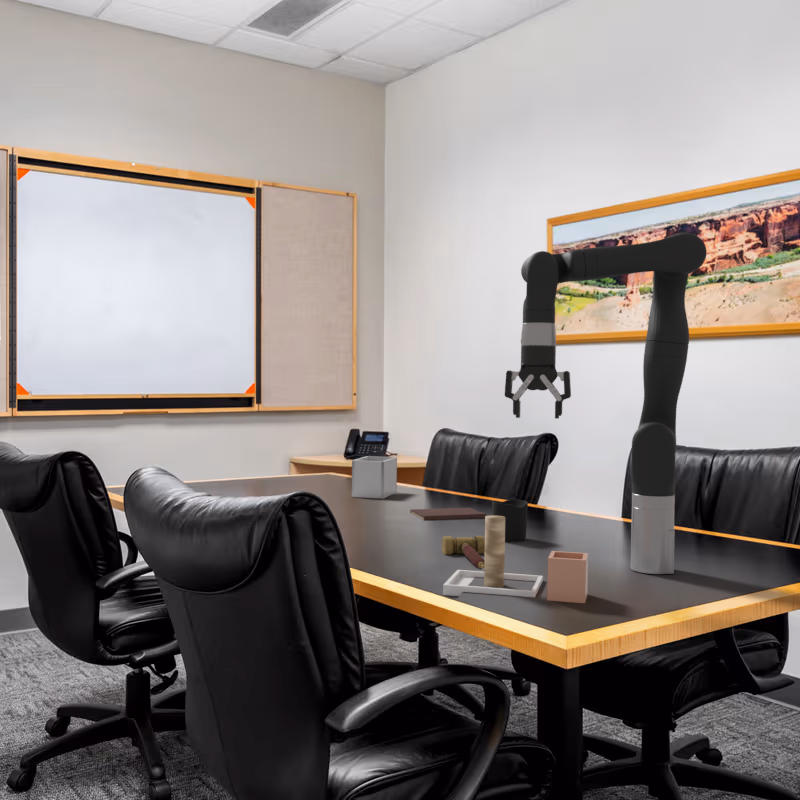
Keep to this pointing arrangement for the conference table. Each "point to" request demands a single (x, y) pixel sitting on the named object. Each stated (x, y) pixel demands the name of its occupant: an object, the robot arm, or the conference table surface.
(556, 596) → the pink open-ended box
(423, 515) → the notebook
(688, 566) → the conference table surface
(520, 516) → the pen holder
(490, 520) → the dowel pin
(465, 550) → the gavel
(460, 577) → the tray
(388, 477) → the gray open-top cube
